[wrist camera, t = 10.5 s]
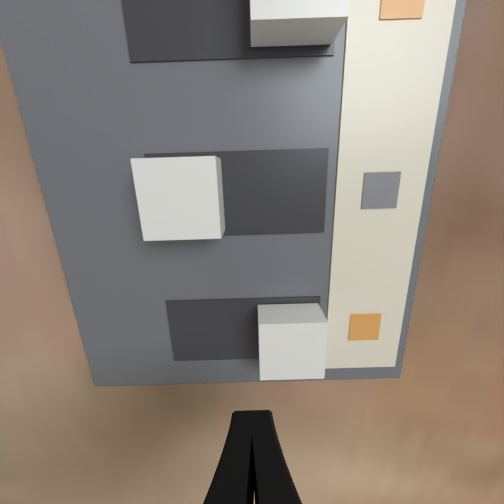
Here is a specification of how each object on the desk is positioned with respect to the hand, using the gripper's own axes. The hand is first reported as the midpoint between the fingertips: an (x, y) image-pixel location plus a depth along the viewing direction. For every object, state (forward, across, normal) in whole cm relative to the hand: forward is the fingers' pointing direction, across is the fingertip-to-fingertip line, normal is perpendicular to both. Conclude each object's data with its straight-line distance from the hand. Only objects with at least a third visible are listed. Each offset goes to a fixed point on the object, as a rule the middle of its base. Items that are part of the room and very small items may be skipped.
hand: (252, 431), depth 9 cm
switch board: (+8, 0, -8) cm, 12 cm away
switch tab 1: (+6, +3, -8) cm, 11 cm away
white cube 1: (+6, -2, 0) cm, 7 cm away
